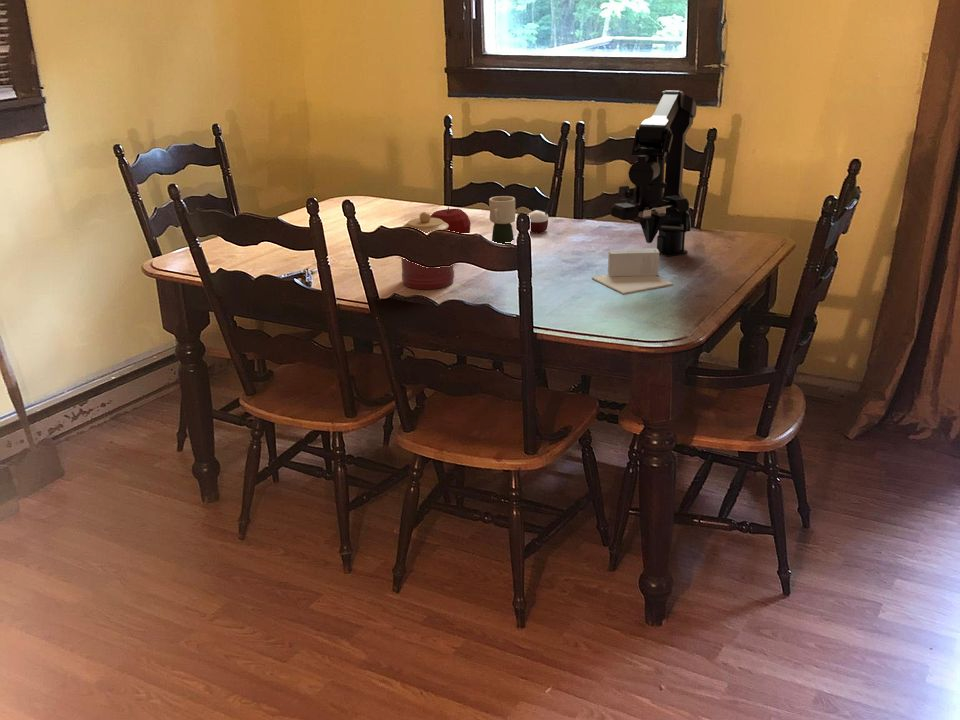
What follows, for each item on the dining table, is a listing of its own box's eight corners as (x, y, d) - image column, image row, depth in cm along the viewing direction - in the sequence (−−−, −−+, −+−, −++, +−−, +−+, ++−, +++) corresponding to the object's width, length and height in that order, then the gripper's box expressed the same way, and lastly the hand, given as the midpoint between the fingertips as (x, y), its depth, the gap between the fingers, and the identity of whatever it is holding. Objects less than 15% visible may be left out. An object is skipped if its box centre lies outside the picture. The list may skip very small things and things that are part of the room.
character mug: (498, 238, 267) (497, 193, 262) (522, 240, 264) (521, 195, 259) (483, 248, 257) (482, 202, 252) (507, 251, 255) (506, 204, 250)
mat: (639, 270, 235) (639, 268, 235) (672, 284, 223) (672, 283, 223) (591, 278, 230) (591, 277, 230) (623, 294, 218) (623, 292, 218)
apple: (454, 246, 260) (452, 199, 255) (480, 255, 252) (479, 206, 247) (419, 255, 253) (416, 207, 248) (444, 264, 245) (442, 214, 240)
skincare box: (657, 247, 231) (608, 247, 231) (660, 252, 226) (610, 252, 227) (655, 271, 233) (607, 271, 233) (658, 277, 229) (609, 277, 229)
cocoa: (520, 234, 272) (517, 193, 267) (529, 228, 277) (526, 188, 272) (550, 236, 268) (547, 194, 263) (559, 230, 273) (556, 189, 268)
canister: (465, 281, 231) (462, 211, 224) (426, 294, 223) (422, 221, 216) (430, 271, 240) (426, 203, 233) (391, 283, 231) (386, 213, 225)
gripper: (664, 168, 229) (661, 230, 235) (599, 176, 222) (598, 240, 228) (692, 175, 220) (688, 240, 226) (625, 184, 213) (623, 251, 219)
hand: (649, 242), depth 225 cm, fingers closed
